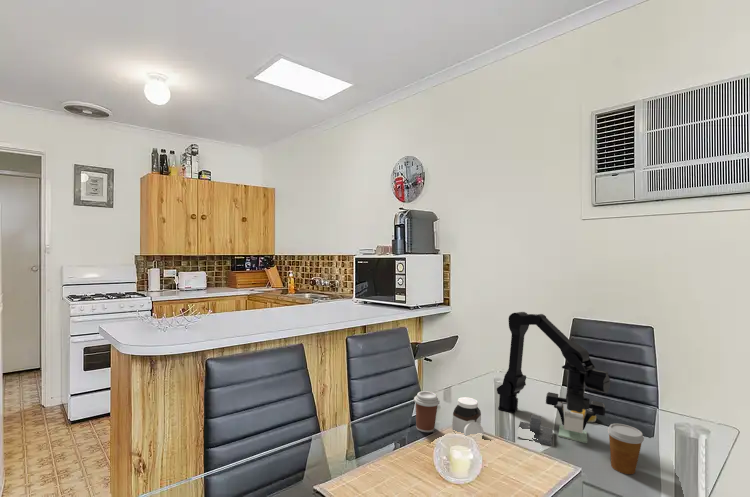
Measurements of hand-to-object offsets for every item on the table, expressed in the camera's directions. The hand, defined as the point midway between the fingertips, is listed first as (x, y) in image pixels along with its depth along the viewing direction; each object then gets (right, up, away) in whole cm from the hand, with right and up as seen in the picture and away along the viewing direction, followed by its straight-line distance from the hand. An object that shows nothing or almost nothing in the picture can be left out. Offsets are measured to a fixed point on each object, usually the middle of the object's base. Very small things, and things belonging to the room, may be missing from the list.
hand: (573, 427), depth 148 cm
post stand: (-14, -2, -2) cm, 15 cm away
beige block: (0, 0, 0) cm, 0 cm away
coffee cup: (-53, 0, -1) cm, 53 cm away
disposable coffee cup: (+5, -4, -21) cm, 22 cm away
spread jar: (-38, -1, -6) cm, 39 cm away
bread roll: (+11, -3, +16) cm, 19 cm away
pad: (0, -3, 0) cm, 3 cm away
